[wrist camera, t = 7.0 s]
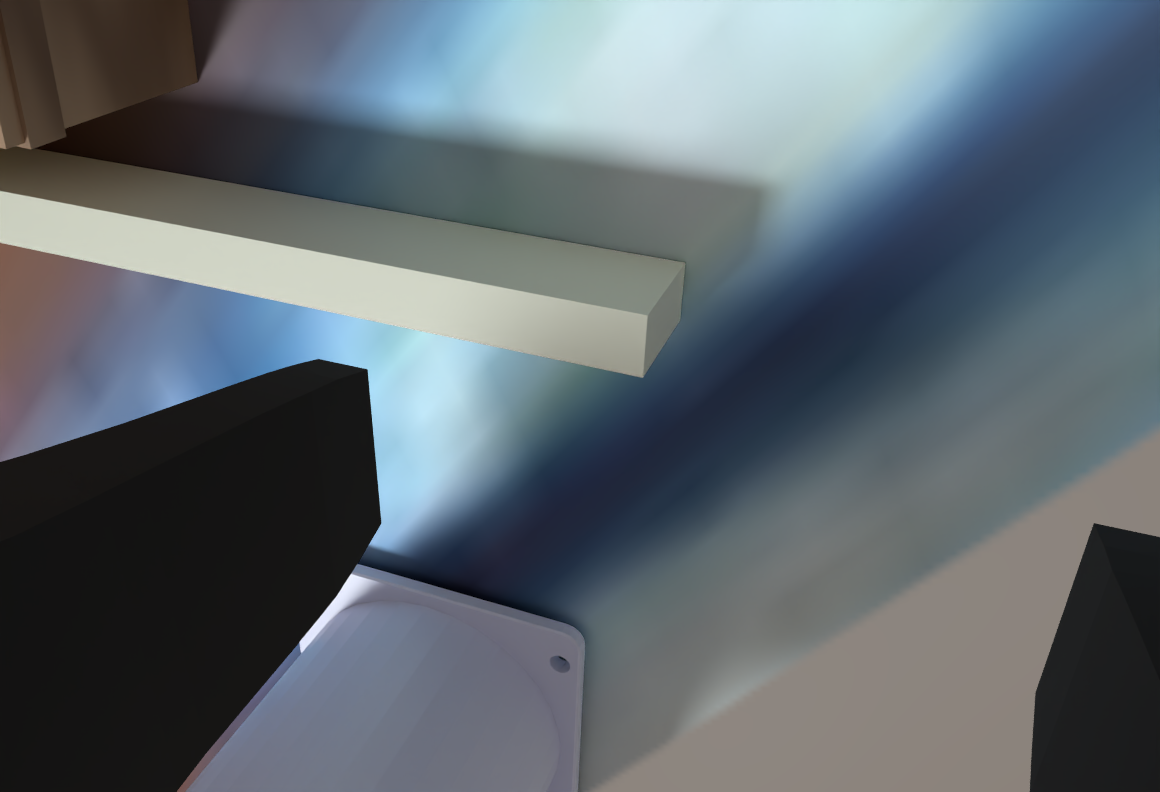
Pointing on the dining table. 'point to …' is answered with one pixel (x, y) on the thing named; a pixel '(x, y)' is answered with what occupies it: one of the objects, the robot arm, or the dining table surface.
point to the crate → (86, 61)
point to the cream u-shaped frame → (348, 258)
